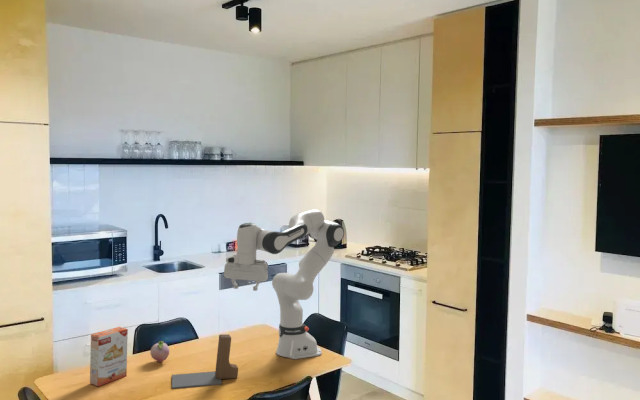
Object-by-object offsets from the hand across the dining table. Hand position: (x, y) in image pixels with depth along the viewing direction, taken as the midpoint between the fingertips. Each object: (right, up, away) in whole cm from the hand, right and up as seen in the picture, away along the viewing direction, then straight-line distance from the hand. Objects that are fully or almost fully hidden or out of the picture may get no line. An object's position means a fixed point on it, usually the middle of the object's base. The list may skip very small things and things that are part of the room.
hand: (245, 289), depth 228 cm
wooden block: (-7, -36, -10) cm, 38 cm away
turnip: (-40, -35, +5) cm, 54 cm away
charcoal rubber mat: (-19, -36, -13) cm, 43 cm away
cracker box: (-55, -36, -16) cm, 68 cm away
